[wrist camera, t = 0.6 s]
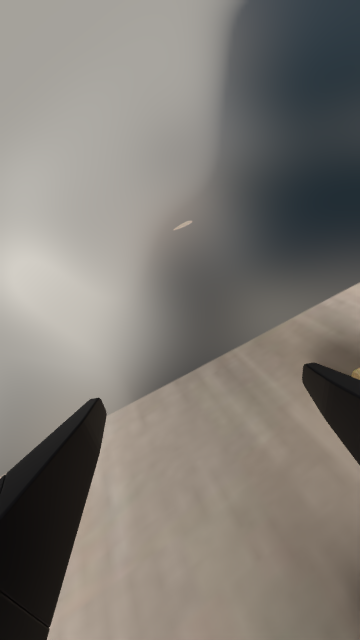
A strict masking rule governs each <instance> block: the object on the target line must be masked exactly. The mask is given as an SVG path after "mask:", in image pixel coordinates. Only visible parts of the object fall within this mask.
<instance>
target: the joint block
mask: <svg viewBox="0 0 360 640" xmlns="http://www.w3.org/2000/svg"><path fill="white" fill-rule="evenodd" d="M351 377H354V378H356V379H359V380H360V368H358V369H356V370H354V371H353V373H352V375H351Z"/></svg>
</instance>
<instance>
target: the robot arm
mask: <svg viewBox="0 0 360 640" xmlns="http://www.w3.org/2000/svg"><path fill="white" fill-rule="evenodd" d="M302 381H303V384H304V386H305V388H306V389H307V391H308V393H309V394H310V396H311V397H312V399H313V401H314V402H315V404H316V406H317V407H318V409H319V411H320V412H321V414H322V415H323V417H324V418H325V420H326V421H327V422H328V424H329V425H330V426H331V428H332V429H333V430H334V432H335V433H336V434H337V436H338V437H339V438H340V440H341V441H342V442H343V444H344V445H345V446H346V448H347V449H348V450H349V452H350V453H351V454H352V456H353V457H354V458H355V460H356V461H357V462H358V464H359V465H360V380H359V379H356V378H354V377H351V376H349V375H346V374H343V373H341V372H338V371H335V370H333V369H330V368H328V367H325V366H322V365H320V364H317V363H308V364H304V366H303V375H302ZM105 422H106V410H105V407H104V405H103V403H102V400H101V399H100V398H95V399H90V400H89V401H88V402H86V403H85V404H84V405H83V406H82V407H81V408H80V409H79V410H77V411H76V412H75V413H74V414H73V415H72V416H71V417H69V418H68V419H67V420H66V421H65V422H64V423H63V424H62V425H60V426H59V427H58V428H57V429H56V430H55V431H54V432H53V433H51V434H50V435H49V436H48V437H47V438H46V439H45V440H44V441H42V442H41V443H40V444H39V445H38V446H37V447H36V448H34V449H33V450H32V451H31V452H30V453H29V454H28V455H27V456H25V457H24V458H23V459H22V460H21V461H20V462H19V463H18V464H16V465H15V466H14V467H13V468H12V469H11V470H10V471H8V472H7V474H6V475H4V476H3V477H2V478H1V479H0V640H47V637H48V633H49V627H50V625H51V622H52V618H53V615H54V611H55V608H56V604H57V601H58V597H59V594H60V590H61V587H62V583H63V580H64V576H65V573H66V569H67V566H68V562H69V559H70V555H71V552H72V548H73V545H74V541H75V538H76V534H77V531H78V527H79V524H80V520H81V517H82V513H83V510H84V506H85V503H86V499H87V496H88V492H89V489H90V485H91V482H92V478H93V475H94V471H95V468H96V464H97V461H98V457H99V453H100V449H101V443H102V438H103V432H104V427H105Z"/></svg>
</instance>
